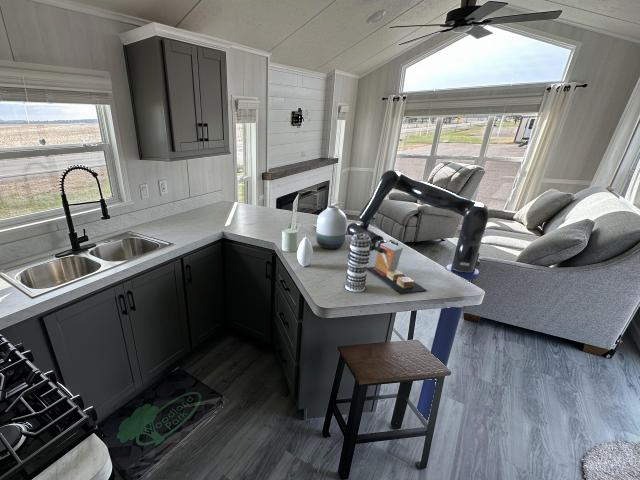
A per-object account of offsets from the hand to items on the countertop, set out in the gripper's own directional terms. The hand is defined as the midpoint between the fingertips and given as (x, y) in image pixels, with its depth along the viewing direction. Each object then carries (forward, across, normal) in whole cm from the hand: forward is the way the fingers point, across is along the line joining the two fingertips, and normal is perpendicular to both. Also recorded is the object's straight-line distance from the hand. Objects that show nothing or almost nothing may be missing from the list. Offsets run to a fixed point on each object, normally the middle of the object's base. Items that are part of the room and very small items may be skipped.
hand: (390, 250), depth 155 cm
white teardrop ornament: (-19, -35, +12) cm, 42 cm away
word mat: (+6, 0, +12) cm, 14 cm away
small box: (-2, 0, +11) cm, 11 cm away
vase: (-44, -10, +13) cm, 47 cm away
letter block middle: (+6, 0, +12) cm, 13 cm away
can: (-45, -35, +13) cm, 58 cm away
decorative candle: (+10, -22, +12) cm, 27 cm away
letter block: (+14, 0, +11) cm, 18 cm away
